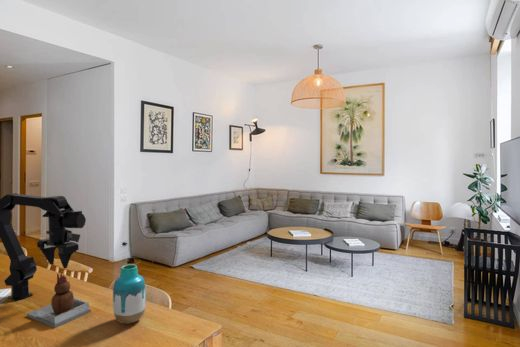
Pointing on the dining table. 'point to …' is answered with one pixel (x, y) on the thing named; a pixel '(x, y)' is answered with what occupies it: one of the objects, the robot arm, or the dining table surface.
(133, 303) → the vase
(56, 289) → the wooden figurine
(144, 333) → the dining table surface
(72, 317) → the grey shallow rectangular tray
